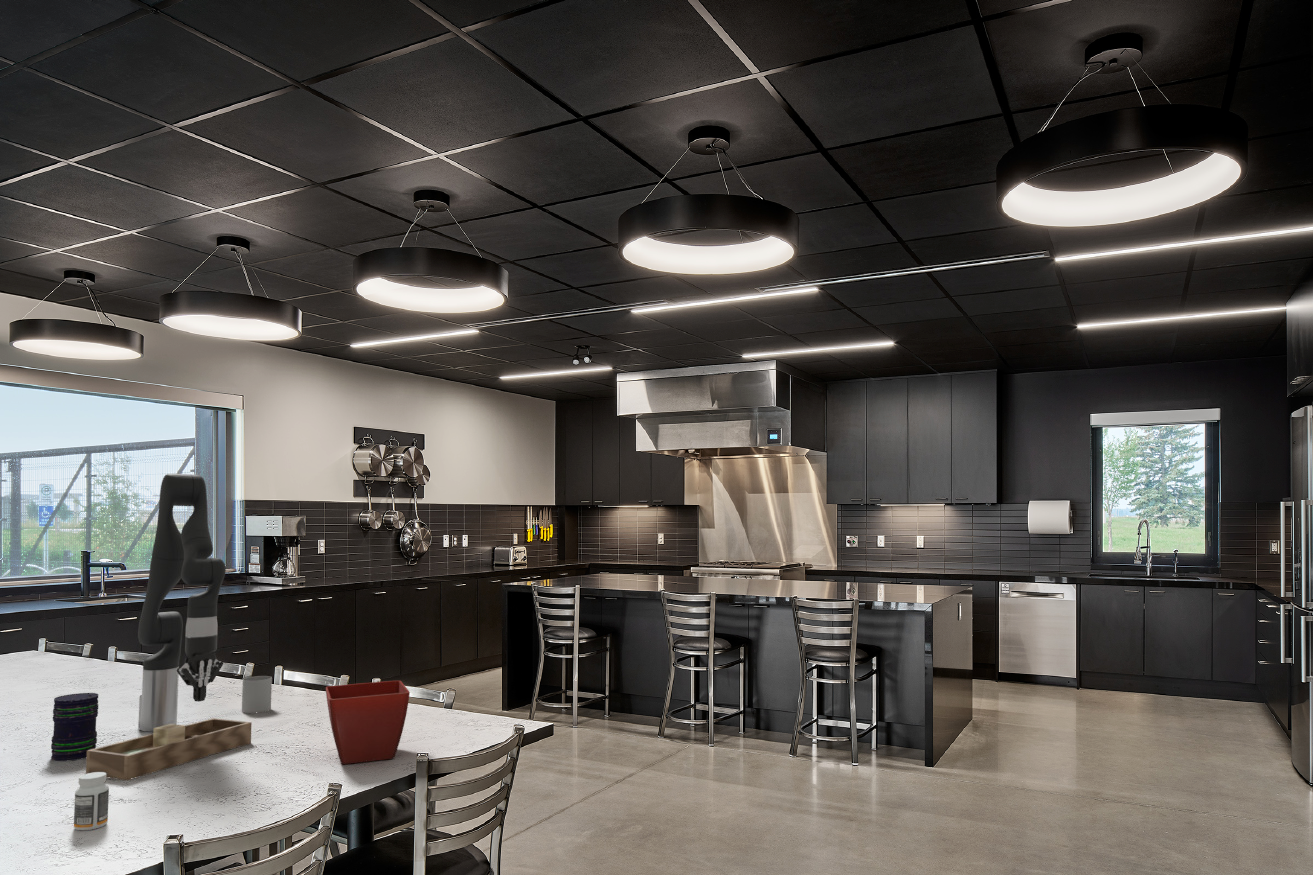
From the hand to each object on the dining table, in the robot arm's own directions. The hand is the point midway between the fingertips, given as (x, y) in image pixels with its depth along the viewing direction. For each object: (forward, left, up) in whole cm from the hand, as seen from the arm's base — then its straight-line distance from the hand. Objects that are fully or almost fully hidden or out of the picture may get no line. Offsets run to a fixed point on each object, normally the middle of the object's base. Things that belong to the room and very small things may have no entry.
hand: (199, 700), depth 232 cm
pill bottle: (+29, -49, -13) cm, 58 cm away
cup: (-24, +42, -13) cm, 50 cm away
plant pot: (+45, +12, -13) cm, 48 cm away
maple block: (0, -8, -10) cm, 13 cm away
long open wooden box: (0, -7, -13) cm, 15 cm away
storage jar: (-26, -15, -13) cm, 33 cm away
